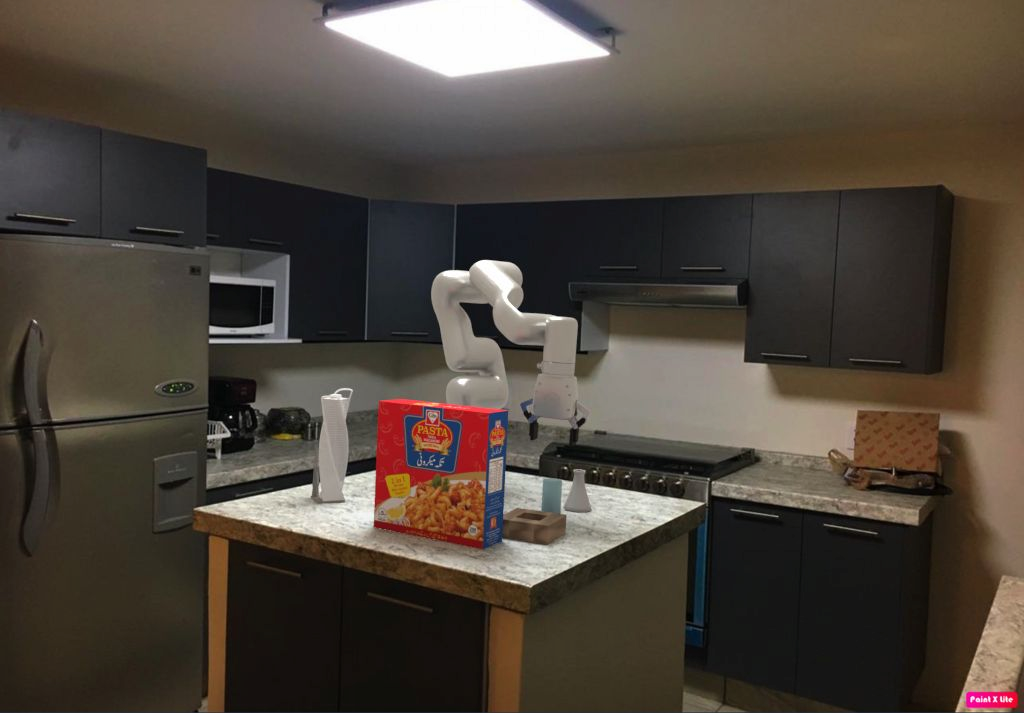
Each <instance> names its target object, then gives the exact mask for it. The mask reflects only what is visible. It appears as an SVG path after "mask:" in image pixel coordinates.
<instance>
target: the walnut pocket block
mask: <svg viewBox="0 0 1024 713" xmlns="http://www.w3.org/2000/svg"><path fill="white" fill-rule="evenodd" d="M566 530H567V514H563V513H561V514H557V513H550V512H543V511H540V510H535V509H529V508H527V509H526V508H522V507H521V508H520V507H516V508H514V509H512V510H510V511H507V512H506V513H503V533H502V539H507V540H516V541H521V542H527V543H535V544H540V545H541V544H542V545H549V544H551V543H552V542H554V541H556V540H557V539H558V538H559V537H561V536H562V535H564V534H565V533H567V532H566Z"/></svg>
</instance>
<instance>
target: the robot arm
mask: <svg viewBox="0 0 1024 713" xmlns="http://www.w3.org/2000/svg"><path fill="white" fill-rule="evenodd" d="M523 278H524V277H523V273H522V271H521V270H520V268H519V267H518V266H517V265H516V264H515V263H512V262H510V261H499V260H490V259H482V260H479V261H477V262H475V263H473V265H471V267H470V268H469V271H468V270H459V269H456V270H455V269H453V270H452V269H449V270H444V271H442V272H440V273H439V274H437V275H436V276H435V278H434V279H433V281H432V285H431V296H430V298H431V304H432V307H433V311H434V313H435V315H436V318H437V322H438V324H439V328H440V335H441V336H440V337H441V342H442V346H443V353H444V357H445V363H446V365H447V367H448V368H449V370H451V371H453V372H455V373H457V372H458V373H478V374H479V375H474V374H473V375H469V374H468V375H459V376H456V377H455V378H452V379H450V381H449V382H448V383H447V386H446V388H445V397H446V398H445V399H446V400H445V401H446V404H453V405H462V406H471V407H481V408H490V409H499V410H502V409H503V408H504V407H505V406H506V405H507V403H508V401H509V395H510V394H509V385H508V379H507V374H506V368H505V363H504V358H503V353H502V350H501V348H500V346H499V345H498V343H497V342H496V340H494V339H492V338H489V337H476V336H475V335H474V332H473V328H472V327H473V326H472V322H471V319H470V317H469V315H468V313H467V312H466V311H465V309H464V308H463V307H462V306H461V305H460V303H469V304H489V305H490V306H491V307H492V318H493V322H494V325H495V328H496V329H497V330H498V331H499V332H500V333H501V334H502V335H503V336H504V337H505V338H506V339H507V340H508V341H510V342H512V343H513V344H516V345H520V346H521V345H522V346H525V345H526V346H543V351H542V352H543V354H542V357H543V358H542V360H541V362H537V364H536V368H537V369H539V370H540V371H541V373H538V374H537V378H536V380H535V381H536V382H535V385H534V392H533V395H532V396H533V397H531V398H529V399H528V400H525V401H523V402H521V403H520V405H519V406H520V408H521V411H522V414H523V416H524V417H525V418H526V420H527V421H528V422H527V423H529V425H528V426H529V429H528V436H529V437H530V438H529V440H530V441H535V440H538V435H539V425H540V423H539V422H538V420H539V419H540V418H545V419H552V420H560V421H568V422H569V424H570V425H571V428H570V429H569V440H568V442H569V443H568V445H569V446H570V447H573V446H575V445H576V444H577V443H578V441H579V433H580V428H581V427H582V426H583V425H585V424H586V423H587V421H588V420H589V418H590V416H592V414H593V413H592V412H593V411H592V410H591V409H590V408H587V407H586V406H585V405H583V404H582V403H580V402H579V388H578V386H579V385H578V379H577V376H575V367H576V355H577V340H578V328H579V325H578V320H577V319H576V318H574V317H568V316H557V315H554V314H553V315H552V314H548V313H547V314H545V313H536V312H534V313H532V312H531V313H530V312H521V311H520V310H518V309H519V307H520V306H521V304H522V302H523V300H524V291H523V290H524V289H523V288H522V284H523ZM529 406H531V411H530V408H529ZM579 412H581V413H582V417H581V418H580V419H578V413H579Z"/></svg>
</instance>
